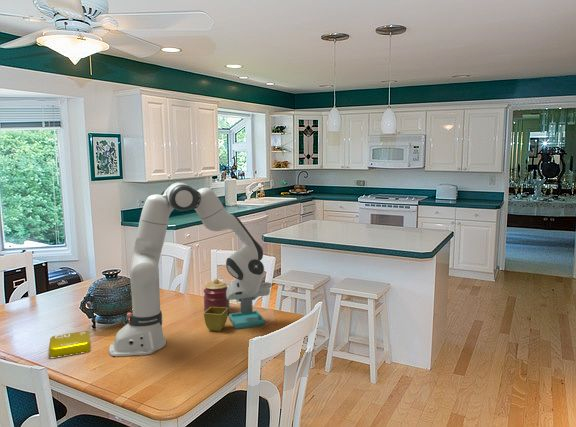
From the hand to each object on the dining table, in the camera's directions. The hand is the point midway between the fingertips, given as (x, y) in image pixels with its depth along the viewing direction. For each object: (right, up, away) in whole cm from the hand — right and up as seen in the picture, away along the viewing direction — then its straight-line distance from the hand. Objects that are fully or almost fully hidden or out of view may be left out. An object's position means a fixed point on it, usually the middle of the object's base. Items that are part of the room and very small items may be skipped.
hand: (246, 299), depth 213 cm
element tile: (-70, -16, -27) cm, 77 cm away
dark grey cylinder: (0, -6, 0) cm, 6 cm away
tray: (0, -11, +1) cm, 11 cm away
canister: (-16, -10, +14) cm, 23 cm away
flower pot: (-13, -12, -8) cm, 19 cm away
